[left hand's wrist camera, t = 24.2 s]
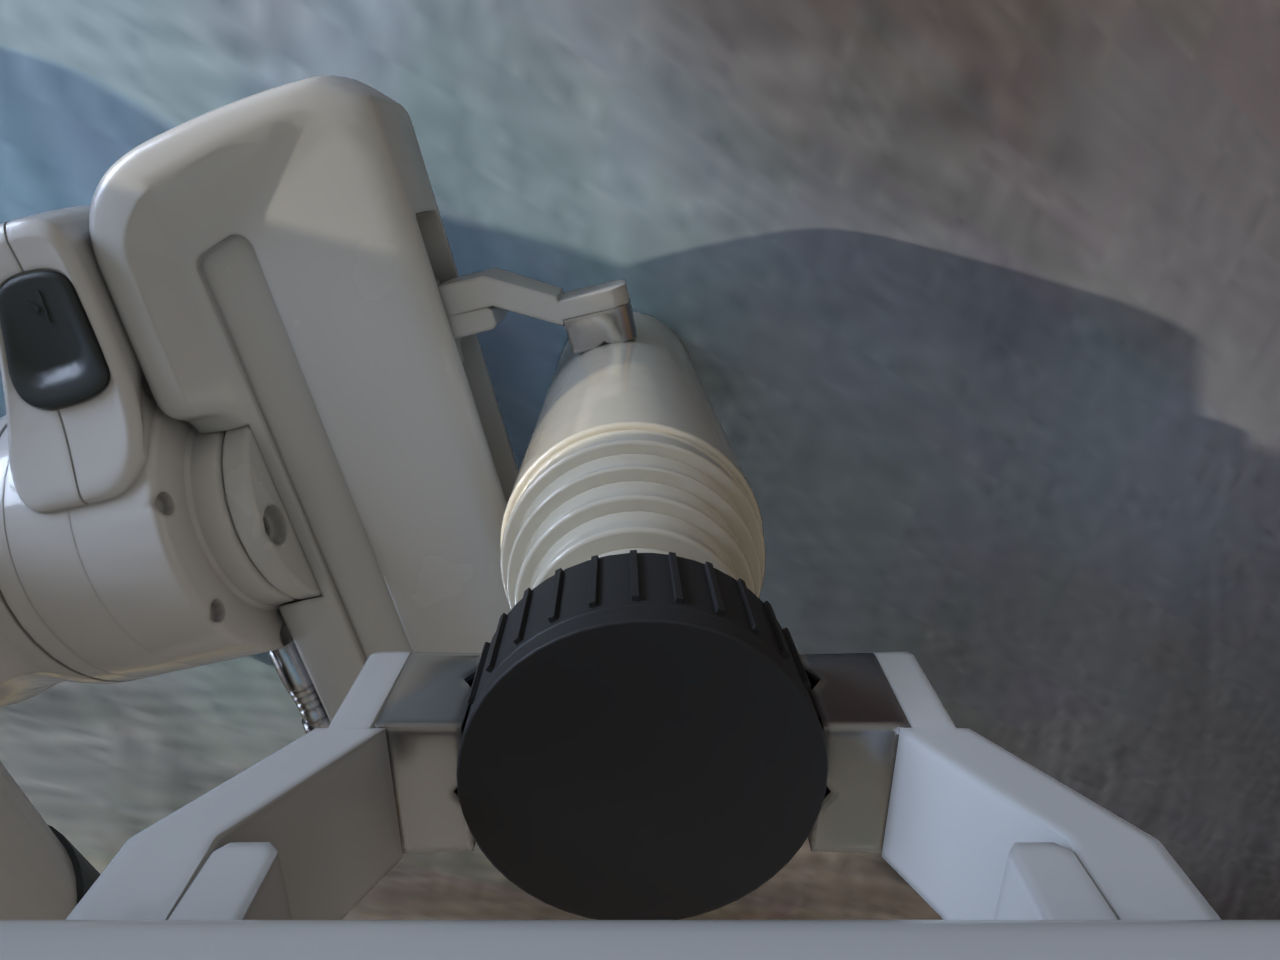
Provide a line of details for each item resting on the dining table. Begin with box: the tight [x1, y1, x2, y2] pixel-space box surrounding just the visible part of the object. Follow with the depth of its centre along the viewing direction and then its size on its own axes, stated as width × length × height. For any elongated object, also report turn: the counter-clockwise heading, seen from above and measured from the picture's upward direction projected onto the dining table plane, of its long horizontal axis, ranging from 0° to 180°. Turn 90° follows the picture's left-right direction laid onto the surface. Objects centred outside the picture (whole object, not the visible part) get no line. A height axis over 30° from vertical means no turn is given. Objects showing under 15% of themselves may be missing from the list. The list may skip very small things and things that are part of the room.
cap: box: [456, 550, 828, 920], centre depth 9 cm, size 4×4×2 cm
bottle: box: [500, 312, 766, 610], centre depth 18 cm, size 5×5×20 cm
